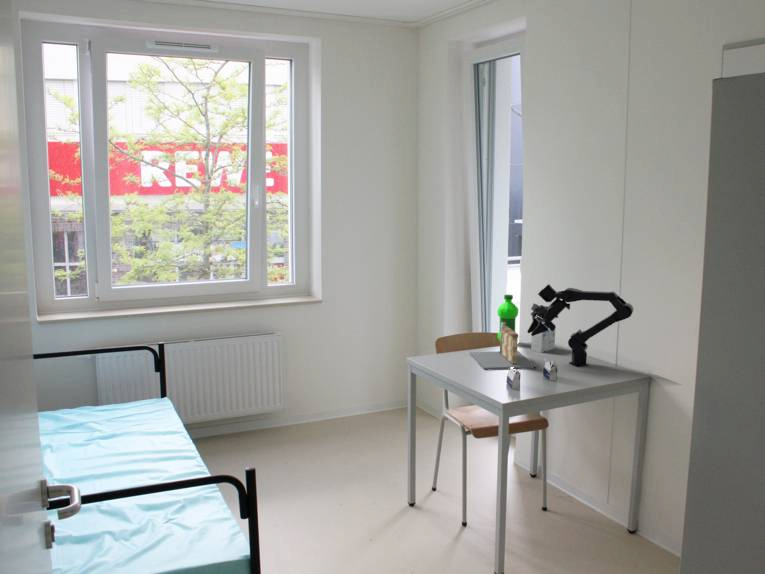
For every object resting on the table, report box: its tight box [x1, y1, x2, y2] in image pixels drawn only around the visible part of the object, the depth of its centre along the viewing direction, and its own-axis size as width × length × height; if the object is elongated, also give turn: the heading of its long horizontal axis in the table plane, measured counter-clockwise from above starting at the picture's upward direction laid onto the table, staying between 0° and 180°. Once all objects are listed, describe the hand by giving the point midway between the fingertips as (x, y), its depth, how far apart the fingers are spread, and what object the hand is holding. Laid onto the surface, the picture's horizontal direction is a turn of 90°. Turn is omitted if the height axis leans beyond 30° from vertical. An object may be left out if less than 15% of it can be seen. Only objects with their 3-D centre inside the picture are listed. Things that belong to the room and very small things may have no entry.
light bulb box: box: [530, 328, 556, 353], centre depth 336 cm, size 11×7×11 cm, turn 130°
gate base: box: [469, 322, 537, 370], centre depth 315 cm, size 24×26×16 cm
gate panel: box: [501, 326, 519, 364], centre depth 314 cm, size 17×3×13 cm, turn 7°
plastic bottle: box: [497, 294, 519, 342], centre depth 346 cm, size 10×10×25 cm
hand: (529, 333), depth 312 cm, fingers open, 5 cm apart
